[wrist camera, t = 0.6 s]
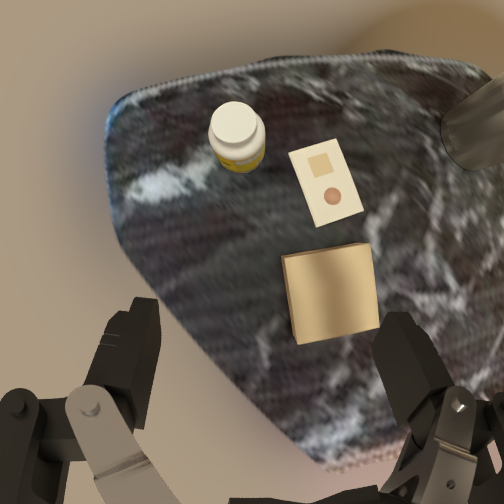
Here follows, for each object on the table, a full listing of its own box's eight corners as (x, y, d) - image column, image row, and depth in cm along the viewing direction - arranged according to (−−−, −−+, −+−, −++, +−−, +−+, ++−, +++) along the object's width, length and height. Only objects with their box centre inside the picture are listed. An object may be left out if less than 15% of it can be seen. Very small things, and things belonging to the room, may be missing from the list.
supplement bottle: (210, 140, 35) (194, 107, 26) (254, 123, 35) (252, 85, 25) (227, 181, 35) (215, 159, 26) (272, 164, 35) (276, 136, 25)
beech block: (359, 242, 35) (370, 242, 31) (368, 319, 35) (380, 328, 31) (280, 255, 35) (283, 257, 31) (293, 334, 36) (296, 345, 32)
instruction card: (335, 139, 35) (336, 138, 35) (363, 210, 35) (364, 210, 35) (288, 153, 35) (288, 152, 35) (315, 227, 35) (316, 227, 35)
